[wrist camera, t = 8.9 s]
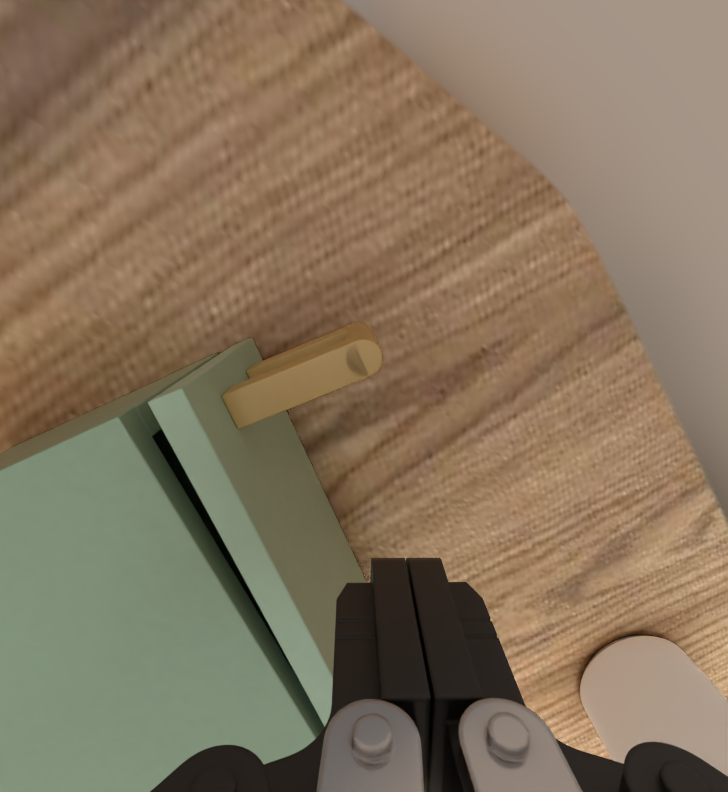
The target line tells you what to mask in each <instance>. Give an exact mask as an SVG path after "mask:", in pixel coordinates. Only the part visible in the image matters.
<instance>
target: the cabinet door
mask: <svg viewBox="0 0 728 792" xmlns="http://www.w3.org/2000/svg"><path fill="white" fill-rule="evenodd" d="M382 362H383V354H382V351H381V348H380V346H379V344H378V342H377V340H376V338H375V335H374V333H373V331H372V329H371V328H370V327H369V326H368V325H367V324H365V323H362V322H356V323H353V324H350V325H348V326H346V327H343V328H341V329H338V330H336V331H333V332H331V333H329V334H326V335H324V336H321V337H319V338H316V339H314V340H312V341H309V342H307V343H304V344H302V345H299V346H297V347H295V348H292V349H290V350H287V351H285V352H282V353H280V354H278V355H275V356H273V357H270V358H268V359H265V360H262V358H261V355H260V353H259V351H258V349H257V347H256V345H255V343H254V340H253V338H249V339H247V340H244V341H242V342H240V343H237V344H235V345H233V346H231V347H230V348H228V349H227V350H225V351H224V352H222V353H221V354H219V355H218V356H216V357H215V358H213V359H212V360H210V361H208V362H207V363H205V364H204V365H202V366H201V367H199V368H198V369H196V370H195V371H193V372H192V373H190V374H189V375H187V376H186V377H184V378H183V379H181V380H180V381H178V382H177V383H175V384H174V385H172V386H171V387H169V388H168V389H166V390H165V391H163V392H162V393H160V394H159V395H157V396H156V397H154V398H153V399H151V400H150V401H149V402H148V404H149V406H150V408H151V410H152V412H153V414H154V415H155V417H156V419H157V421H158V423H159V425H160V426H161V428H162V430H163V432H164V434H165V436H166V437H167V439H168V441H169V443H170V445H171V447H172V448H173V450H174V452H175V454H176V456H177V458H178V459H179V461H180V463H181V465H182V467H183V468H184V470H185V472H186V474H187V476H188V478H189V479H190V481H191V483H192V485H193V487H194V489H195V490H196V492H197V494H198V496H199V498H200V500H201V501H202V503H203V505H204V507H205V509H206V511H207V512H208V514H209V516H210V518H211V520H212V522H213V523H214V525H215V527H216V529H217V531H218V533H219V534H220V536H221V538H222V540H223V542H224V544H225V545H226V547H227V549H228V551H229V553H230V554H231V556H232V558H233V560H234V562H235V564H236V565H237V567H238V569H239V571H240V573H241V575H242V576H243V578H244V580H245V582H246V584H247V586H248V587H249V589H250V591H251V593H252V595H253V597H254V598H255V600H256V602H257V604H258V606H259V608H260V609H261V611H262V613H263V615H264V617H265V619H266V620H267V622H268V624H269V626H270V628H271V630H272V631H273V633H274V635H275V637H276V639H277V640H278V642H279V644H280V646H281V648H282V650H283V651H284V653H285V655H286V657H287V659H288V661H289V662H290V664H291V666H292V668H293V670H294V672H295V673H296V675H297V677H298V679H299V681H300V683H301V684H302V686H303V688H304V690H305V692H306V694H307V695H308V697H309V699H310V701H311V703H312V705H313V706H314V708H315V710H316V712H317V714H318V716H319V717H320V719H321V721H322V723H323V725H324V727H325V726H326V724H327V722H328V719H329V716H330V713H331V706H332V687H333V666H334V644H335V623H336V601H337V598H338V596H339V595H340V593H341V592H342V590H343V588H344V587H345V585H346V584H347V583H367V582H366V580H365V578H364V575H363V573H362V571H361V569H360V567H359V565H358V563H357V560H356V558H355V556H354V554H353V552H352V550H351V548H350V545H349V543H348V541H347V539H346V537H345V535H344V533H343V531H342V528H341V526H340V524H339V522H338V520H337V518H336V516H335V513H334V511H333V509H332V507H331V505H330V503H329V501H328V498H327V496H326V494H325V492H324V490H323V488H322V486H321V484H320V481H319V479H318V477H317V475H316V473H315V471H314V469H313V466H312V464H311V462H310V460H309V458H308V456H307V454H306V452H305V449H304V447H303V445H302V443H301V441H300V439H299V437H298V434H297V432H296V430H295V428H294V426H293V424H292V422H291V419H290V417H289V415H288V413H287V411H286V410H288V409H291V408H293V407H296V406H298V405H300V404H303V403H305V402H308V401H310V400H313V399H315V398H318V397H320V396H323V395H325V394H328V393H330V392H333V391H335V390H338V389H340V388H343V387H345V386H348V385H350V384H352V383H355V382H357V381H360V380H362V379H365V378H367V377H369V376H372V375H374V374H375V373H376V372H377V371H378V370H379V369H380V368H381V366H382Z"/></svg>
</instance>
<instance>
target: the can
mask: <svg viewBox="0 0 728 792" xmlns="http://www.w3.org/2000/svg"><path fill="white" fill-rule="evenodd" d="M580 698H581V702H582V704H583V707H584V709H585V711H586V713H587V715H588V717H589V718H590V720H591V722H592V724H593V726H594V728H595V730H596V732H597V733H598V735H599V737H600V739H601V741H602V743H603V744H604V746H605V748H606V750H607V752H608V754H609V755H610V757H611V759H612V760H613V761H616V762H620V763H623V764H624V761H625V757H626V755H627V753H628V751H629V750H630V749H631V748H632V747H634V746H636V745H637V744H640V743H644V742H662V743H667V744H671V745H674V746H677V747H679V748H682V749H684V750H686V751H688V752H690V753H692V754H694V755H696V756H697V757H699V758H701V759H702V760H704V761H705V762H707V763H708V764H710V765H711V766H713V767H714V768H716V769H717V770H719V771H720V772H722V773H723V774H725V775H726V776H728V700H727V698H726V697H725V696H724V695H723V694H722V693H721V692H720V691H719V690H718V689H717V687H716V686H715V685H714V684H713V683H712V682H711V681H710V680H709V679H708V677H707V676H706V675H705V674H704V673H703V672H702V671H701V670H700V669H699V668H698V666H697V665H696V664H695V663H694V662H693V661H692V660H691V659H690V658H689V657H688V656H687V654H686V653H685V652H684V651H683V650H682V649H681V648H680V647H678V646H677V645H676V644H674V643H673V642H671V641H669V640H666V639H663V638H659V637H654V636H647V635H634V636H628V637H624V638H621V639H618V640H615V641H613V642H611V643H609V644H608V645H606V646H604V647H603V648H602V649H600V650H599V651H598V652H597V653H596V654H595V655H594V656H593V657H592V658H591V660H590V661H589V662H588V664H587V666H586V668H585V670H584V673H583V676H582V680H581V684H580Z"/></svg>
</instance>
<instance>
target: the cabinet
mask: <svg viewBox="0 0 728 792" xmlns="http://www.w3.org/2000/svg"><path fill="white" fill-rule="evenodd" d="M218 355H219V354H218V353H215V354H213V355H211V356H209V357H206V358H204V359H202V360H200V361H198V362H196V363H193V364H191V365H189V366H187V367H185V368H183V369H180V370H178V371H176V372H174V373H172V374H170V375H167V376H165V377H163V378H161V379H159V380H157V381H154V382H152V383H150V384H148V385H146V386H144V387H141V388H139V389H137V390H135V391H133V392H131V393H128V394H126V395H124V396H122V397H120V398H118V399H115V400H113V401H111V402H109V403H107V404H105V405H102V406H100V407H98V408H96V409H94V410H92V411H89V412H87V413H85V414H83V415H81V416H79V417H76V418H74V419H72V420H70V421H68V422H66V423H63V424H61V425H59V426H57V427H55V428H53V429H50V430H48V431H46V432H44V433H42V434H40V435H37V436H35V437H33V438H31V439H29V440H27V441H24V442H22V443H20V444H18V445H16V446H14V447H11V448H9V449H7V450H6V451H4V452H2V453H0V792H150V791H152V790H153V789H154V788H155V787H156V786H157V785H158V784H159V783H161V782H162V781H163V780H164V779H165V778H166V777H167V776H168V775H170V774H171V773H172V772H173V771H174V770H175V769H176V768H177V767H179V766H180V765H181V764H182V763H183V762H185V761H186V760H187V759H188V758H190V757H191V756H193V755H195V754H196V753H198V752H200V751H202V750H205V749H207V748H210V747H214V746H219V745H236V746H241V747H244V748H246V749H248V750H250V751H252V752H253V753H254V754H256V755H257V756H258V757H259V759H260V760H261V761H262V763H263V764H267V763H270V762H273V761H275V760H278V759H281V758H284V757H287V756H290V755H292V754H294V753H296V752H299V751H300V750H302V749H304V748H305V747H307V746H308V745H309V744H310V743H312V742H313V741H314V740H315V739H316V738H317V737H318V736H319V735H320V733H321V732H322V730H323V729H324V728H325V727H324V725H323V723H322V721H321V719H320V717H319V716H318V714H317V712H316V710H315V708H314V706H313V705H312V703H311V701H310V699H309V697H308V695H307V694H306V692H305V690H304V688H303V686H302V684H301V683H300V681H299V679H298V677H297V675H296V673H295V672H294V670H293V668H292V666H291V664H290V662H289V661H288V659H287V657H286V655H285V653H284V651H283V650H282V648H281V646H280V644H279V642H278V640H277V639H276V637H275V635H274V633H273V631H272V630H271V628H270V626H269V624H268V622H267V620H266V619H265V617H264V615H263V613H262V611H261V609H260V608H259V606H258V604H257V602H256V600H255V598H254V597H253V595H252V593H251V591H250V589H249V587H248V586H247V584H246V582H245V580H244V578H243V576H242V575H241V573H240V571H239V569H238V567H237V565H236V564H235V562H234V560H233V558H232V556H231V554H230V553H229V551H228V549H227V547H226V545H225V544H224V542H223V540H222V538H221V536H220V534H219V533H218V531H217V529H216V527H215V525H214V523H213V522H212V520H211V518H210V516H209V514H208V512H207V511H206V509H205V507H204V505H203V503H202V501H201V500H200V498H199V496H198V494H197V492H196V490H195V489H194V487H193V485H192V483H191V481H190V479H189V478H188V476H187V474H186V472H185V470H184V468H183V467H182V465H181V463H180V461H179V459H178V458H177V456H176V454H175V452H174V450H173V448H172V447H171V445H170V443H169V441H168V439H167V437H166V436H165V434H164V432H163V430H162V428H161V426H160V425H159V423H158V421H157V419H156V417H155V415H154V414H153V412H152V410H151V408H150V406H149V404H148V402H149V401H150V400H151V399H153V398H154V397H156V396H157V395H159V394H160V393H162V392H163V391H165V390H166V389H168V388H169V387H171V386H172V385H174V384H175V383H177V382H178V381H180V380H181V379H183V378H184V377H186V376H187V375H189V374H190V373H192V372H193V371H195V370H196V369H198V368H199V367H201V366H202V365H204V364H205V363H207V362H208V361H210V360H212V359H213V358H215V357H216V356H218Z"/></svg>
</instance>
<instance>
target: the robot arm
mask: <svg viewBox="0 0 728 792" xmlns="http://www.w3.org/2000/svg"><path fill="white" fill-rule="evenodd" d="M150 792H728V776H726V775H725V774H723V773H722V772H720V771H719V770H717V769H716V768H714V767H713V766H711V765H710V764H708V763H707V762H705V761H704V760H702V759H701V758H699V757H697V756H696V755H694V754H692V753H690V752H688V751H686V750H684V749H682V748H679V747H677V746H674V745H671V744H667V743H662V742H644V743H640V744H637V745H636V746H634V747H632V748H631V749H630V750H629V751H628V753H627V755H626V757H625V761H624V764H623V763H620V762H616V761H613V760H609V759H606V758H603V757H599V756H596V755H592V754H589V753H586V752H582V751H580V750H577V749H574V748H572V747H570V746H568V745H565V744H563V743H562V742H560V741H559V740H557V739H555V737H554V735H553V733H552V732H551V730H550V729H549V727H548V726H547V725H546V723H545V722H544V721H543V720H542V719H541V718H540V717H539V716H538V715H537V714H535V713H534V712H533V711H531V710H530V709H528V708H527V707H526V706H525V704H524V701H523V699H522V696H521V694H520V691H519V689H518V686H517V684H516V681H515V679H514V676H513V674H512V671H511V669H510V666H509V664H508V661H507V659H506V656H505V654H504V651H503V649H502V646H501V644H500V641H499V639H498V638H497V634H496V631H495V629H494V626H493V624H492V621H490V616H489V614H488V611H487V608H486V606H485V603H484V601H483V598H482V597H481V596H480V595H479V594H478V593H477V592H476V591H475V590H474V589H473V588H472V587H471V586H470V585H469V584H468V583H467V582H448V580H447V576H446V573H445V570H444V567H443V564H442V561H441V559H440V558H407V559H406V562H405V558H371V581H370V583H347V584H346V585H345V587H344V588H343V590H342V592H341V593H340V595H339V596H338V598H337V601H336V623H335V644H334V666H333V687H332V706H331V713H330V716H329V719H328V722H327V724H326V726H325V728H324V729H323V730H322V732H321V733H320V735H319V736H318V737H317V738H316V739H315V740H314V741H313V742H312V743H310V744H309V745H308V746H307V747H305V748H304V749H302V750H300V751H299V752H296V753H294V754H292V755H290V756H287V757H284V758H281V759H278V760H275V761H273V762H270V763H267V764H263V763H262V761H261V760H260V759H259V757H258V756H257V755H256V754H254V753H253V752H252V751H250V750H248V749H246V748H244V747H241V746H236V745H219V746H214V747H210V748H207V749H205V750H202V751H200V752H198V753H196V754H195V755H193V756H191V757H190V758H188V759H187V760H186V761H185V762H183V763H182V764H181V765H180V766H179V767H177V768H176V769H175V770H174V771H173V772H172V773H171V774H170V775H168V776H167V777H166V778H165V779H164V780H163V781H162V782H161V783H159V784H158V785H157V786H156V787H155V788H154V789H153V790H152V791H150Z"/></svg>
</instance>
